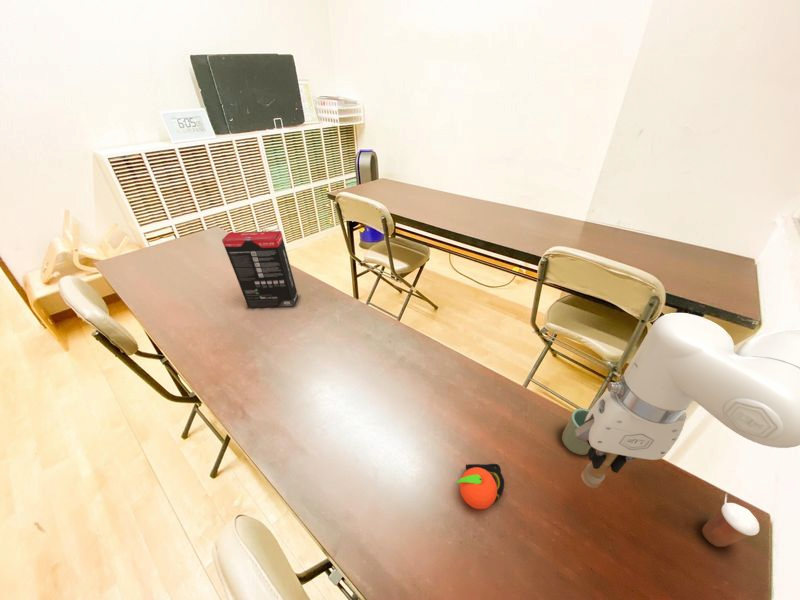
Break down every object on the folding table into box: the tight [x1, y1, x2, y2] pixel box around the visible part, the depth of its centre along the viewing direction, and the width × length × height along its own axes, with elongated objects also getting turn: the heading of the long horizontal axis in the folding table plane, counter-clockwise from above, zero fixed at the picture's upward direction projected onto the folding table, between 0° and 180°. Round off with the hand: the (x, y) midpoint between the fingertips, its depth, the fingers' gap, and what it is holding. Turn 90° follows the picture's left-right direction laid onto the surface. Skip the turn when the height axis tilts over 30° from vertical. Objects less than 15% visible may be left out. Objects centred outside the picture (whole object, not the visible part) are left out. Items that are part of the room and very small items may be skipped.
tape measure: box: [465, 463, 505, 503], centre depth 64 cm, size 7×7×4 cm
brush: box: [580, 452, 618, 489], centre depth 55 cm, size 3×3×12 cm
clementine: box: [454, 467, 497, 510], centre depth 61 cm, size 8×7×7 cm
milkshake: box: [701, 493, 760, 548], centre depth 54 cm, size 5×5×10 cm
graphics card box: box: [221, 230, 299, 309], centre depth 109 cm, size 17×7×27 cm, turn 92°
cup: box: [561, 408, 591, 456], centre depth 69 cm, size 6×6×8 cm
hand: (602, 461), depth 55 cm, fingers closed on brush, 2 cm apart
